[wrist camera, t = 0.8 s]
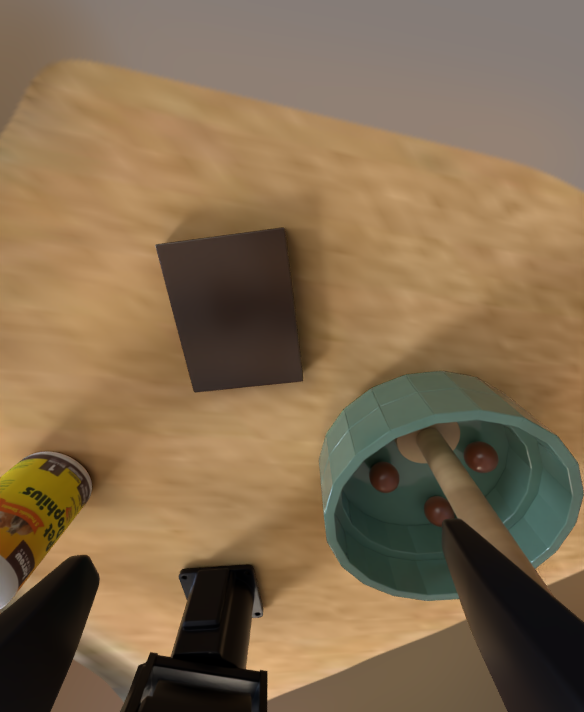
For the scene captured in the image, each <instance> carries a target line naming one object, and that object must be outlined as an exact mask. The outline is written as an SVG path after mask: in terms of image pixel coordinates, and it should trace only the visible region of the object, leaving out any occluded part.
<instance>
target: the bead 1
mask: <svg viewBox="0 0 584 712" xmlns="http://www.w3.org/2000/svg"><path fill="white" fill-rule="evenodd" d="M369 479H370V483H371V484H372V486H373V487H374V488H375V489H376V490H377V491H379V492H382V493H390V492H392V491H394V490H395V489H396V488H397V486H398V485H399V480H400V477H399V473H398V471H397V469H396V468H395V467H394V466H393V465H392V464H390V463H388V462H378V463H376V464H374V465H373V466H372V468H371V469H370V472H369Z"/></svg>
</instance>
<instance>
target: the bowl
mask: <svg viewBox="0 0 584 712" xmlns="http://www.w3.org/2000/svg"><path fill="white" fill-rule="evenodd" d="M450 422H457V423H458V425H459V428H460V439H459V442H458V444H457V446H456V448H455V449H454V450H453V452H454V453H455V455H456V456H457V458H458V459H459V460H460V462H461V463H462V465H463V466H464V468H465V469H466V470H467V472H468V473H469V475H470V476H471V478H472V479H473V481H474V482H475V483H476V485H477V486H478V488H479V489H480V491H481V492H482V494H483V495H484V496H485V498H486V499H487V501H488V502H489V504H490V505H491V506H492V508H493V509H494V511H495V512H496V514H497V515H498V517H499V518H500V519H501V521H502V522H503V524H504V525H505V527H506V528H507V530H508V531H509V532H510V534H511V535H512V537H513V538H514V540H515V541H516V542H517V544H518V545H519V547H520V548H521V550H522V551H523V553H524V554H525V555H526V557H527V558H528V560H529V561H530V563H531V564H532V566H533V567H534V568H535V569H536V568H537V567H538V566H539V565H540V564H542V563H543V562H544V561H545V560H547V559H548V558H549V557H550V556H552V555H553V554H554V553H555V552H556V551H557V550H558V549H559V547H560V546H561V544H562V543H563V541H564V540H565V539H566V537H567V536H568V534H569V533H570V532H571V530H572V529H573V527H574V526H575V524H576V522H577V518H578V514H579V511H580V507H581V503H582V499H583V496H584V494H583V493H584V492H583V486H582V481H581V475H580V470H579V464H578V462H577V461H576V459H575V458H574V457H573V455H572V454H571V453H570V451H569V450H568V449H567V447H566V446H565V445H564V444H563V442H562V441H561V440H560V438H559V437H558V436H557V435H556V434H554V433H553V432H552V431H551V430H549V429H548V428H547V427H546V426H544V425H543V424H542V423H541V422H539V421H538V420H537V419H536V418H534V417H533V416H532V415H531V414H529V413H528V412H527V411H526V410H525V409H523V408H522V407H521V406H520V405H518V404H517V403H516V402H515V401H513V400H512V399H511V398H510V397H508V396H507V395H506V394H505V393H503V392H502V391H500V390H498V389H496V388H495V387H493V386H491V385H489V384H488V383H486V382H484V381H482V380H481V379H479V378H477V377H473V376H468V375H462V374H457V373H452V372H446V371H434V372H424V373H415V374H406V375H403V376H400V377H398V378H395V379H393V380H390V381H388V382H385V383H382V384H380V385H377V386H375V387H372V389H369V390H368V391H367V392H365V393H364V394H363V395H361V396H360V397H359V398H357V399H356V400H355V401H353V402H352V403H351V404H349V405H348V406H347V407H346V408H345V409H343V411H342V412H341V414H340V415H339V416H338V418H337V419H336V421H335V422H334V423H333V425H332V426H331V428H330V429H329V430H328V432H327V434H326V436H325V439H324V443H323V447H322V450H321V454H320V457H319V468H320V479H321V490H322V501H323V512H324V521H325V530H326V538H327V543H328V544H329V546H330V548H331V549H332V551H333V553H334V554H335V556H336V558H337V559H338V561H339V563H340V565H341V566H342V567H343V568H344V569H345V570H347V571H348V572H349V573H350V574H352V575H353V576H354V577H355V578H357V579H358V580H359V581H360V582H362V583H363V584H365V585H367V586H370V587H372V588H375V589H377V590H380V591H382V592H385V593H387V594H389V595H392V596H397V597H404V598H410V599H417V600H424V601H435V600H451V599H459V596H458V593H457V591H456V588H455V585H454V582H453V579H452V576H451V574H450V571H449V568H448V565H447V562H446V559H445V557H444V554H443V550H442V527H438V526H435V525H433V524H432V523H430V522H429V521H428V519H427V518H426V516H425V513H424V504H425V502H426V501H427V499H429V498H430V497H433V496H441V497H443V498H445V499H447V498H446V496H445V494H444V492H443V491H442V489H441V487H440V485H439V483H438V481H437V480H436V478H435V476H434V474H433V472H432V471H431V469H430V467H429V465H428V463H416V462H413V461H410V460H408V459H407V458H405V457H404V456H403V455H402V454H401V453H400V451H399V450H398V447H397V445H396V443H395V441H394V439H395V438H398V437H401V436H404V435H406V434H409V433H412V432H415V431H418V430H420V429H423V428H426V427H429V426H432V425H434V424H439V423H450ZM475 441H482V442H485V443H488V444H489V445H491V446H492V447H493V448H494V449H495V450H496V452H497V454H498V458H499V461H498V465H497V467H496V468H495V469H494V470H493V471H491V472H488V473H479V472H476V471H474V470H472V469H471V468H470V467H468V465H467V464H466V462H465V460H464V456H463V453H464V449H465V448H466V446H467V445H468V444H470V443H472V442H475ZM378 462H388V463H390V464H392V465H393V466H394V467H395V468H396V469H397V471H398V473H399V477H400V480H399V485H398V486H397V488H396V489H395V490H394V491H392V492H390V493H382V492H379V491H377V490H376V489H375V488H374V487H373V486H372V484H371V483H370V479H369V472H370V469H371V468H372V466H373V465H374V464H376V463H378ZM454 513H455V512H454ZM455 518H457V516H456V514H455V516H454V519H455Z"/></svg>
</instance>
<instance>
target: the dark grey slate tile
mask: <svg viewBox="0 0 584 712" xmlns="http://www.w3.org/2000/svg"><path fill="white" fill-rule="evenodd" d="M155 246H156V250H157V254H158V257H159V261H160V265H161V269H162V273H163V276H164V280H165V284H166V288H167V292H168V295H169V299H170V303H171V307H172V311H173V314H174V318H175V322H176V326H177V330H178V333H179V337H180V341H181V345H182V349H183V352H184V356H185V360H186V364H187V367H188V371H189V375H190V379H191V383H192V386H193V390H194V392H204V391H214V390H223V389H233V388H243V387H252V386H262V385H272V384H281V383H291V382H301V381H303V370H302V362H301V354H300V346H299V337H298V329H297V321H296V313H295V305H294V297H293V288H292V280H291V272H290V264H289V256H288V247H287V239H286V231H285V228H275V229H268V230H260V231H253V232H245V233H238V234H230V235H223V236H215V237H208V238H200V239H193V240H185V241H178V242H170V243H163V244H156V245H155Z"/></svg>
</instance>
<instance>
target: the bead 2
mask: <svg viewBox="0 0 584 712" xmlns="http://www.w3.org/2000/svg"><path fill="white" fill-rule="evenodd" d="M424 513H425V516H426V518H427V519H428V521H429V522H430V523H432V524H433V525H435V526H438V527H442V522H443V520H445V519H454V516H455V513H454V511H453V509H452V507H451V505H450V503H449V501H448V500H447V499H445V498H443V497H441V496H433V497H430V498H429V499H427V501H426V502H425V504H424Z"/></svg>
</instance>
